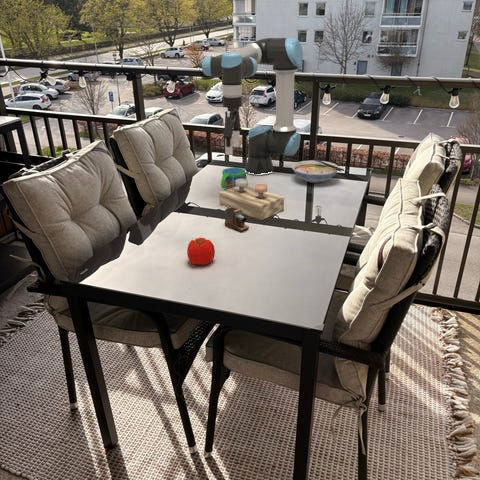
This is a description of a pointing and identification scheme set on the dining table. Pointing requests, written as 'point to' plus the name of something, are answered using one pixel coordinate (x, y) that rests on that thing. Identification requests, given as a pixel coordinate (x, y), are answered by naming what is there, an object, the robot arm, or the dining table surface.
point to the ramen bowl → (315, 170)
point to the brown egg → (260, 189)
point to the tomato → (200, 251)
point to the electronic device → (235, 219)
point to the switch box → (252, 202)
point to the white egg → (241, 184)
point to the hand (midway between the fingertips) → (232, 150)
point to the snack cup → (232, 177)
